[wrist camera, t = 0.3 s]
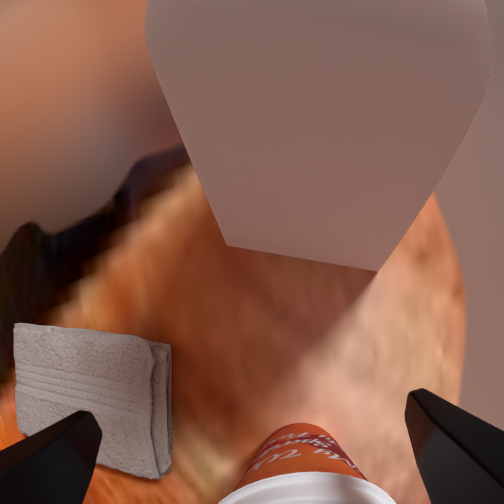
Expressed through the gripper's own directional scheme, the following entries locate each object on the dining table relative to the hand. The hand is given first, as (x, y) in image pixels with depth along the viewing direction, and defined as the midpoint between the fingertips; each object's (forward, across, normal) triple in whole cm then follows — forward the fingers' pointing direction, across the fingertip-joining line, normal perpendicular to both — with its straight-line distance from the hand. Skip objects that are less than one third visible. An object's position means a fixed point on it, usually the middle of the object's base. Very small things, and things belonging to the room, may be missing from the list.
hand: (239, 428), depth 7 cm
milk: (+20, -5, -4) cm, 21 cm away
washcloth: (+12, +17, +9) cm, 23 cm away
